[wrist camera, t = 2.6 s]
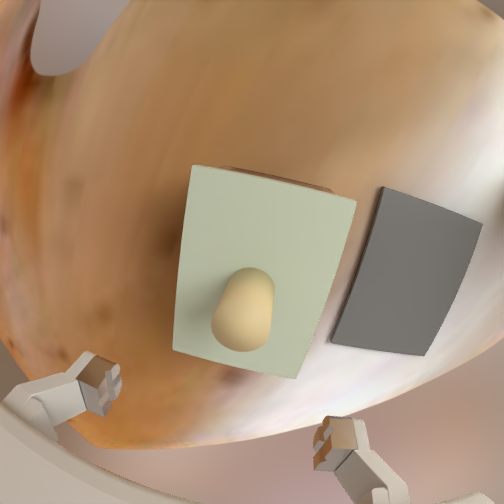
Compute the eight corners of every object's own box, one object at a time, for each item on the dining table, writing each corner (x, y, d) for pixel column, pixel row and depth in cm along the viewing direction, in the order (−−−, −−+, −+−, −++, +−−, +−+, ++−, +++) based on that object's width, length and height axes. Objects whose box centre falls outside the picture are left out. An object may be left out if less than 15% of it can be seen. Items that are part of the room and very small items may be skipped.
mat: (382, 186, 23) (384, 187, 22) (479, 222, 22) (482, 224, 22) (330, 339, 28) (331, 342, 28) (422, 352, 28) (424, 356, 27)
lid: (200, 163, 18) (160, 171, 12) (350, 197, 18) (380, 220, 12) (179, 336, 23) (151, 388, 17) (295, 364, 22) (295, 423, 16)
